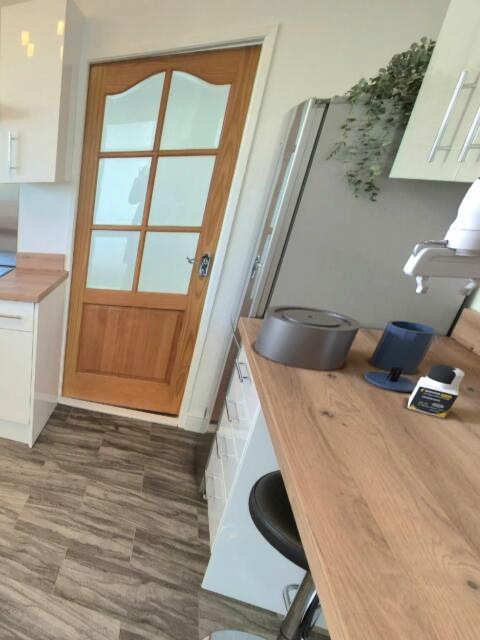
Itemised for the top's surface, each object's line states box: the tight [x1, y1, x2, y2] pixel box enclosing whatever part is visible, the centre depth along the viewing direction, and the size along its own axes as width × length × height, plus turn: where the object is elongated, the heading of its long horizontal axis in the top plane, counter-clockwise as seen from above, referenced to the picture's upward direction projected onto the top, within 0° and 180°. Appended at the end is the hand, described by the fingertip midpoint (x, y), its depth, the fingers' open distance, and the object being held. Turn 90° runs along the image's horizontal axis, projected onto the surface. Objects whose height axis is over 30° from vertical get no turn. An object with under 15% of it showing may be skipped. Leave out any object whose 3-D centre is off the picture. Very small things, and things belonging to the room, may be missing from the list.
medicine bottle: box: [407, 364, 465, 419], centre depth 111 cm, size 7×7×12 cm
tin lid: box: [363, 367, 418, 393], centre depth 126 cm, size 12×12×5 cm
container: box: [253, 305, 361, 371], centre depth 143 cm, size 25×25×13 cm
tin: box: [369, 320, 439, 375], centre depth 135 cm, size 11×11×14 cm
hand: (441, 293), depth 116 cm, fingers open, 8 cm apart
